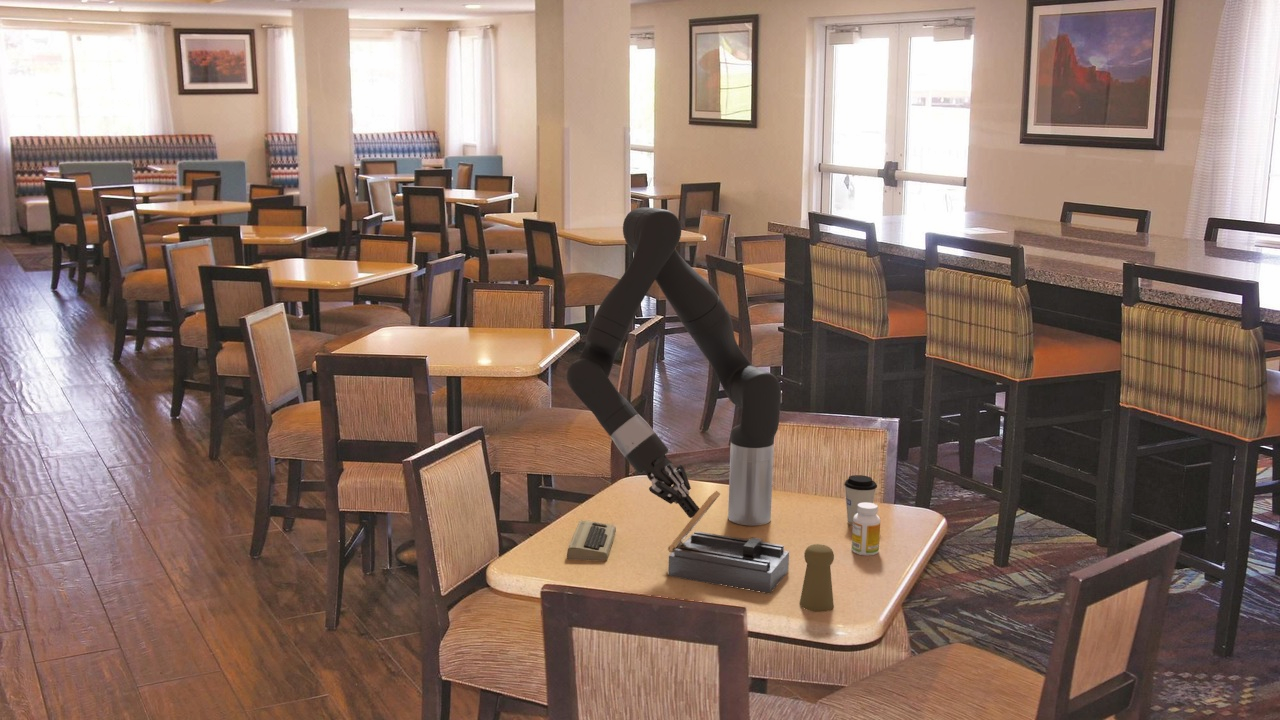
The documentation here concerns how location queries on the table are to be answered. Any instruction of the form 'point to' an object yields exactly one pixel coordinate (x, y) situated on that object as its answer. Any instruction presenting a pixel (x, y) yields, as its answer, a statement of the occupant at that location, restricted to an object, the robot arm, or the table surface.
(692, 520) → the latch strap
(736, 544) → the grey slider box
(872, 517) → the supplement bottle
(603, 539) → the computer
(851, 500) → the coffee cup
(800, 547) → the table surface
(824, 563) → the olive pawn
